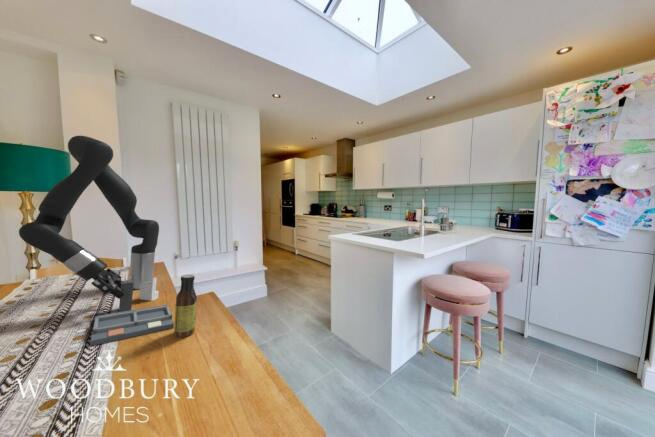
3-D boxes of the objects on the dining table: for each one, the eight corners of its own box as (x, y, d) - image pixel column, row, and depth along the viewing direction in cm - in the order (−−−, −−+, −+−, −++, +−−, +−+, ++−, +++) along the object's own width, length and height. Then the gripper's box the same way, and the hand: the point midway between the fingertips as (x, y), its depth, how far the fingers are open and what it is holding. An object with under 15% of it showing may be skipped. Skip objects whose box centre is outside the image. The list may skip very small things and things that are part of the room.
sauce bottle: (198, 331, 81) (203, 276, 80) (181, 340, 75) (186, 280, 75) (186, 326, 84) (191, 272, 83) (168, 333, 78) (173, 275, 77)
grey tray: (95, 320, 81) (95, 312, 81) (165, 308, 95) (166, 301, 95) (90, 346, 68) (90, 336, 68) (173, 328, 82) (174, 320, 82)
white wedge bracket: (161, 296, 100) (153, 278, 100) (141, 305, 101) (134, 286, 101) (167, 293, 103) (160, 276, 104) (149, 302, 104) (141, 284, 105)
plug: (119, 308, 91) (121, 276, 91) (130, 306, 94) (133, 275, 93) (118, 311, 89) (121, 279, 88) (131, 310, 91) (133, 278, 91)
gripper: (89, 262, 79) (130, 291, 86) (102, 253, 91) (137, 280, 98) (66, 278, 77) (110, 307, 83) (82, 267, 89) (119, 293, 95)
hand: (124, 292), depth 91 cm, fingers open, 8 cm apart
